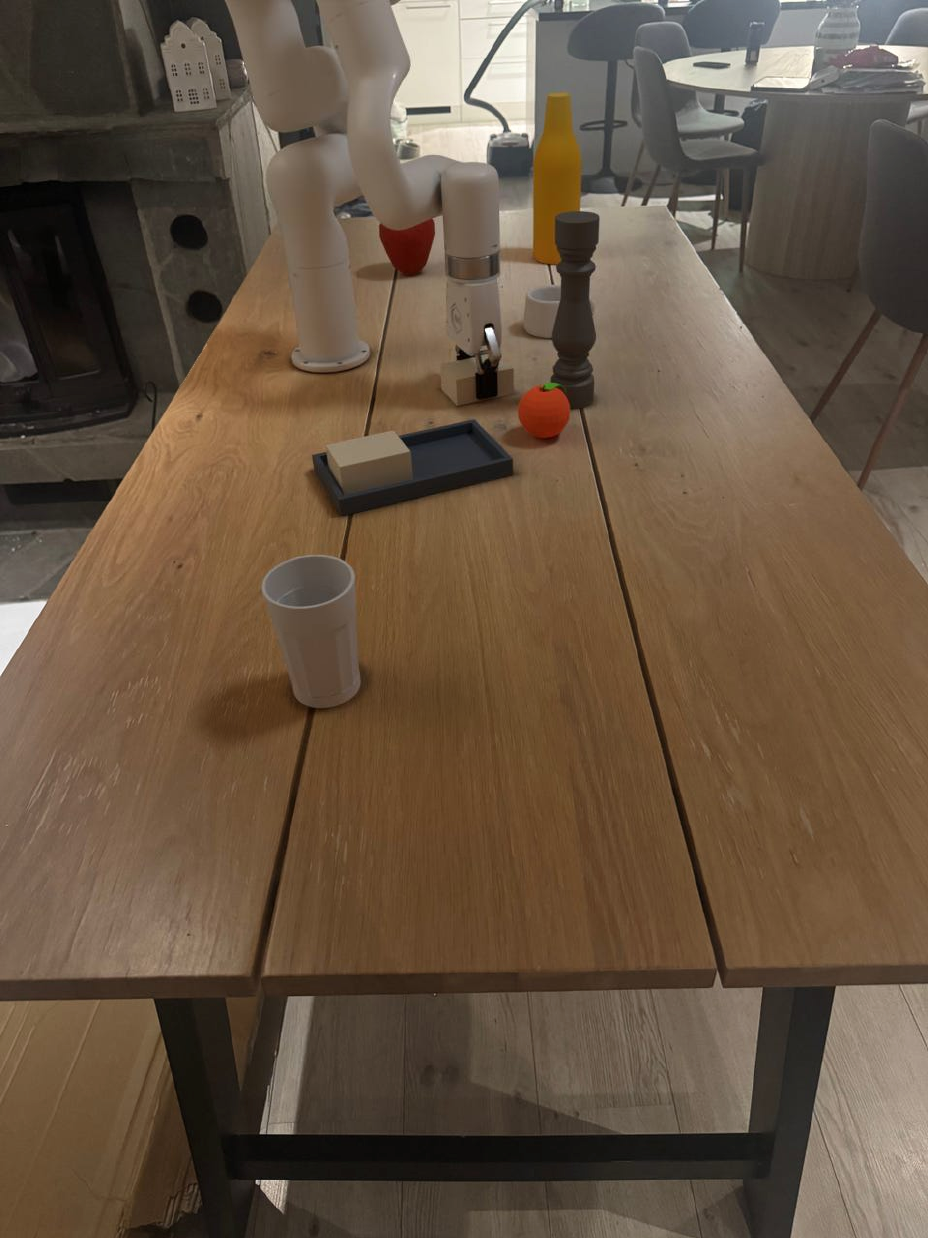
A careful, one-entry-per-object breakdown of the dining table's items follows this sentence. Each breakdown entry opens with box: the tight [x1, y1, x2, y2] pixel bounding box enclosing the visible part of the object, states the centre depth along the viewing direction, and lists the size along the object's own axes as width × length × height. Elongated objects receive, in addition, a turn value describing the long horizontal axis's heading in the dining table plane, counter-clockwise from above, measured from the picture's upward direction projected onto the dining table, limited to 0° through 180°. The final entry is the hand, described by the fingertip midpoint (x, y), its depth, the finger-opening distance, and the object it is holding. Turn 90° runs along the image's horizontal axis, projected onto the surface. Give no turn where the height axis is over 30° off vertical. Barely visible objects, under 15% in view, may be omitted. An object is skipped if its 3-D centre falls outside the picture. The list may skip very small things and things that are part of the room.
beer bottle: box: [532, 92, 583, 265], centre depth 178 cm, size 9×9×29 cm
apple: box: [378, 218, 436, 276], centre depth 179 cm, size 11×11×12 cm
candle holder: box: [550, 210, 600, 410], centre depth 126 cm, size 6×6×25 cm
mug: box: [522, 284, 596, 339], centre depth 154 cm, size 12×10×6 cm
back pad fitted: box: [325, 430, 413, 496], centre depth 115 cm, size 6×9×4 cm
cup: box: [261, 554, 362, 709], centre depth 83 cm, size 8×8×12 cm
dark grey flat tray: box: [311, 418, 514, 517], centre depth 118 cm, size 13×23×2 cm, turn 112°
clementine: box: [517, 382, 571, 439], centre depth 123 cm, size 8×7×7 cm
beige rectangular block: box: [439, 354, 515, 407], centre depth 136 cm, size 6×9×4 cm
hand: (477, 387), depth 137 cm, fingers closed on beige rectangular block, 6 cm apart
